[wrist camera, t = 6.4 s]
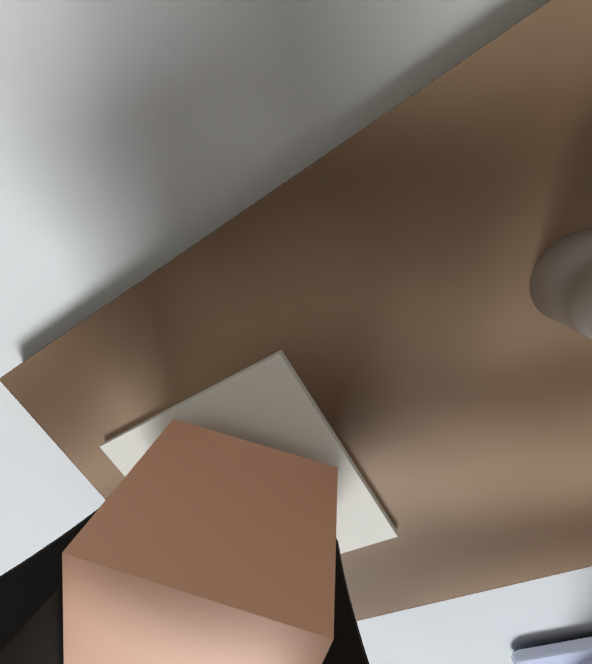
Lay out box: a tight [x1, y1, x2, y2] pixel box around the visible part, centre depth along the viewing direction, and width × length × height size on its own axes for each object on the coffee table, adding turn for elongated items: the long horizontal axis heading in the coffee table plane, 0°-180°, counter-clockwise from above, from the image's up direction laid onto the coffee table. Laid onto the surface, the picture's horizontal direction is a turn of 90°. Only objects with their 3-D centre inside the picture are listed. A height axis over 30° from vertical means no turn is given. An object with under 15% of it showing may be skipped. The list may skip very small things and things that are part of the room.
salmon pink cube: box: [62, 419, 338, 664], centre depth 9 cm, size 5×5×4 cm
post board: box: [0, 0, 592, 621], centre depth 10 cm, size 16×24×4 cm, turn 121°
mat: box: [100, 350, 398, 554], centre depth 12 cm, size 8×8×1 cm
